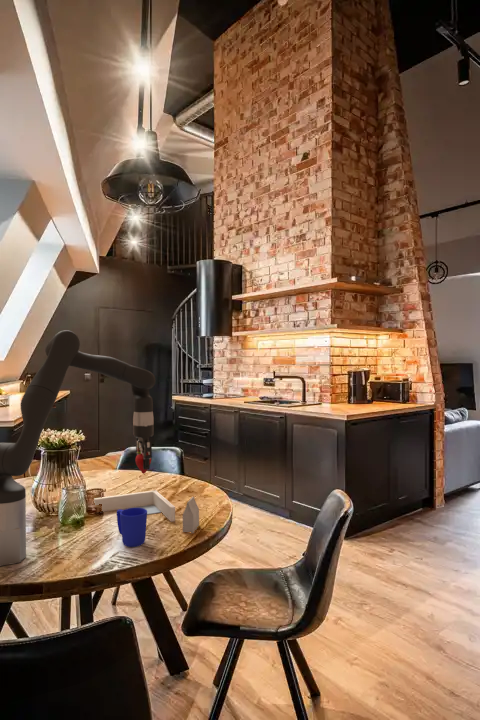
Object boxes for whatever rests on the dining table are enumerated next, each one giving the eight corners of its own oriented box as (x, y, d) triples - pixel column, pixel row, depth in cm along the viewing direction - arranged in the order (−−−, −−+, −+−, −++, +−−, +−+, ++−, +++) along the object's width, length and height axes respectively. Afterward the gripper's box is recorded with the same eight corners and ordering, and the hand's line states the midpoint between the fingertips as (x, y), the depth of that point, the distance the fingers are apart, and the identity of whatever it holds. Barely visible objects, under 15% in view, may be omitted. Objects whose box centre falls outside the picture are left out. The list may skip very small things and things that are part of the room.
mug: (128, 534, 153) (128, 503, 153) (152, 543, 145) (152, 510, 145) (107, 541, 147) (107, 509, 147) (131, 551, 139) (131, 518, 139)
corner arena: (175, 520, 165) (175, 506, 165) (106, 532, 155) (106, 517, 155) (156, 502, 187) (156, 489, 187) (94, 511, 176) (93, 498, 176)
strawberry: (133, 476, 173) (133, 449, 173) (137, 471, 180) (137, 445, 180) (149, 476, 173) (149, 449, 173) (153, 471, 180) (152, 445, 180)
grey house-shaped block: (199, 526, 160) (198, 496, 160) (193, 533, 154) (193, 502, 154) (188, 525, 161) (188, 496, 161) (182, 532, 154) (182, 502, 154)
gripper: (128, 421, 181) (129, 464, 181) (138, 426, 168) (138, 472, 168) (148, 420, 185) (148, 462, 185) (158, 425, 172) (158, 470, 172)
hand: (143, 467), depth 176 cm, fingers closed on strawberry, 7 cm apart
